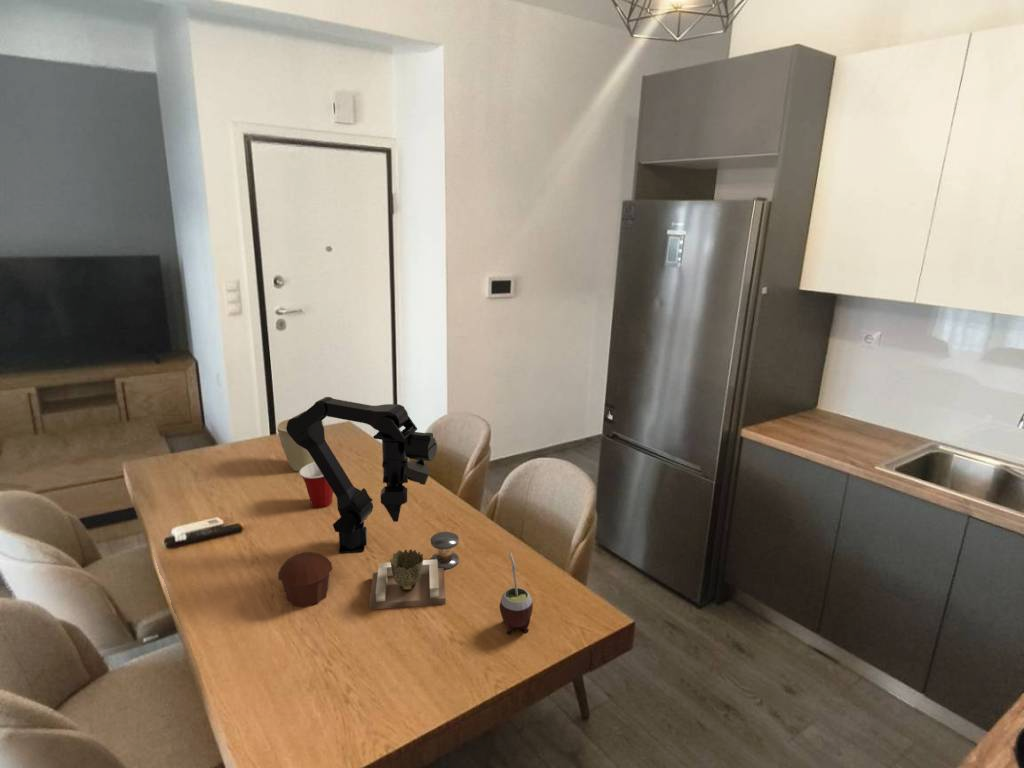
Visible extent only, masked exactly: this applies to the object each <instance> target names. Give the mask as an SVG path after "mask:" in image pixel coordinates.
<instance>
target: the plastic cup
mask: <svg viewBox="0 0 1024 768" xmlns="http://www.w3.org/2000/svg"><path fill="white" fill-rule="evenodd" d="M298 472H299V475H300V476H301V477H302V480H303V481H304V484H305V487H306V490H307V494H308V497H309V500H310V503H311V505H312V507H313V508H314V509H315V508H316V509H323V508H328V507H329V506H330V505H331V504H332V502H333V497H334V492H333V490H332V489H331V487H330V486H329V484H328V482H327V481H326V479H325V477H324V476H323V474H322V473H321V471H320V469H319V468H318V466H317V465H316V463H315V462H313V463H310V464H308V465H306V466H304V467H303V468H301V470H300V471H298Z"/></svg>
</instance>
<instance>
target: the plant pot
mask: <svg viewBox="0 0 1024 768" xmlns="http://www.w3.org/2000/svg"><path fill="white" fill-rule="evenodd" d="M290 419H291V418H287V419H284V420H282V421H280V422H278V423H277V425H276V428H277V433H278V437H279V441H280V443H281V448H282V449H283V452H284V455H285V458H286V460H287V462H288V463H289V465H290V467H291V469H292V470H293V471H295V472H299V471H300V470H301V468H303V467H304V466H306V465H308V464H310V463H313V462H315V461H314V460H313V458H312V457H311V455H310V453H309V452H308V451H307V450H306V449H305V448H303V447H301V446H300V445H298V444H296V443H295V441H294V440H293V439H292V438H291V437H290V435H289V434H288V432H287V430H286V427H287V423H288V421H289V420H290ZM321 422H322V425H323V426H324V421H323V420H322V421H321Z"/></svg>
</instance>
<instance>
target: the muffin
mask: <svg viewBox="0 0 1024 768" xmlns="http://www.w3.org/2000/svg"><path fill="white" fill-rule="evenodd" d="M332 569H333V565H332V561H330V560H329V558H327V557H326V556H324V555H322V554H321V553H319V552H313V551H306V552H305V551H304V552H300V553H297V554H295V555H293V556H291V557H289V558H287V560H285V562H283V564H282V565H281V566H280V569H279V571H278V572H277V576H278V580H279V581H281V583H282V587H283V590H284V593H285V596H286V600H287V601H288V603H290V604H291V605H292V606H293V607H301V608H307V607H311V606H315V605H319V603H320V602H321V601H323V600H325V599H326V598H327V593H328V590H329V581H330V573H331V572H332Z"/></svg>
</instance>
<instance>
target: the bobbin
mask: <svg viewBox="0 0 1024 768" xmlns="http://www.w3.org/2000/svg"><path fill="white" fill-rule="evenodd" d="M459 542H460V541H459V536H458V535H457V534H456V533H454V532H451V531H440V532H436V533H435V534H433V535H431V537H430V544H431V546H432V547H433V548H434V549H436V553H434V554H433V555H432V556H431V557H430V560H434V559H437V562H438V568H444V570H450V569H453V568H455V567H457V565H458V564H459V559H460V558H459V555H458V554H457V553H455V552H454V549H453V548H455V547H456V546H457V545H458V544H459Z"/></svg>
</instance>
